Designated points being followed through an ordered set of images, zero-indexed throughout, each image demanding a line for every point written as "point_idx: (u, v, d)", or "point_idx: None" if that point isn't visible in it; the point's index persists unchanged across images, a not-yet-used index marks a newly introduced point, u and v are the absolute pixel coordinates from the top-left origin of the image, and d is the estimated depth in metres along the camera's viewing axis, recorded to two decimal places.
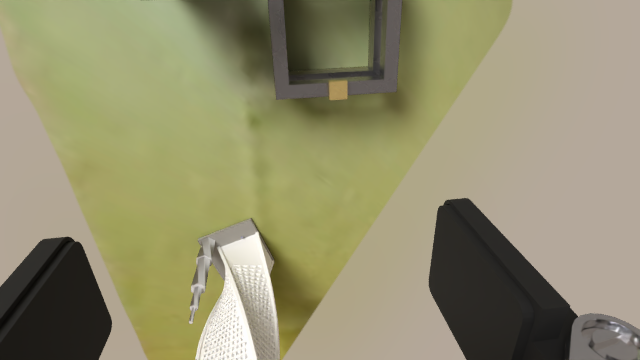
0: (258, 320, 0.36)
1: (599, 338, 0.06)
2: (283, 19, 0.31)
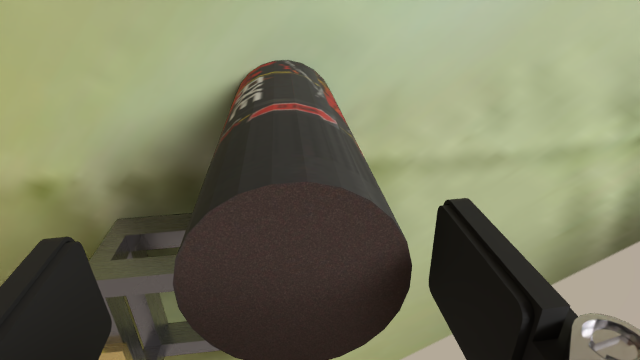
0: None
1: (599, 338, 0.06)
2: None
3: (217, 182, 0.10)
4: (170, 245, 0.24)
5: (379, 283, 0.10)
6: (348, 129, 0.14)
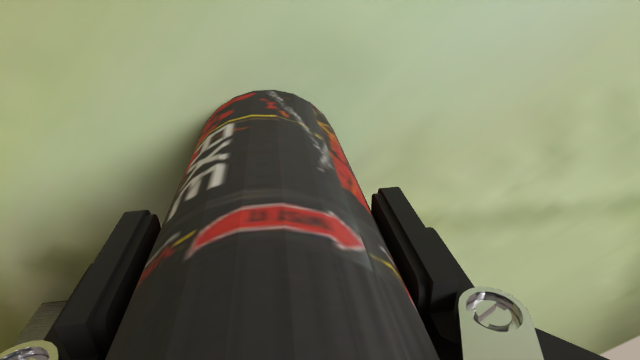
0: None
1: (481, 310, 0.07)
2: None
3: None
4: None
5: None
6: (380, 241, 0.08)
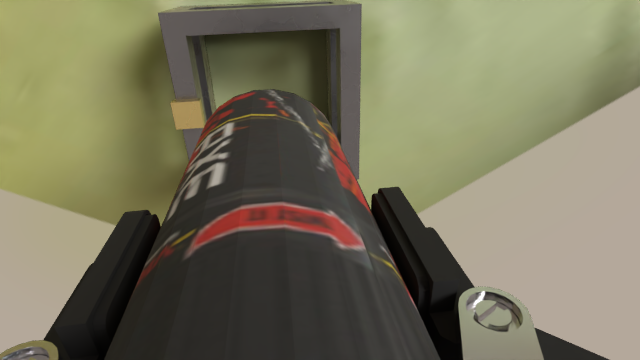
0: None
1: (480, 309, 0.07)
2: (283, 29, 0.21)
3: None
4: None
5: None
6: (380, 240, 0.08)
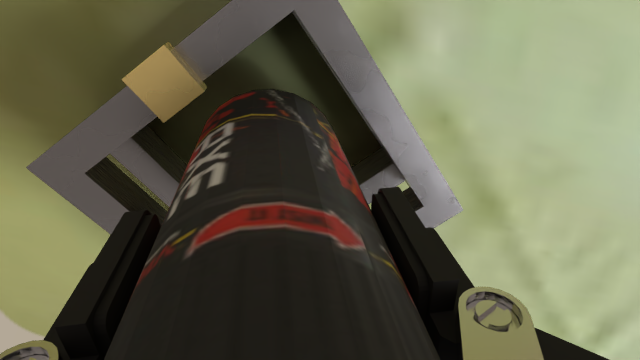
0: None
1: (481, 310, 0.07)
2: (385, 143, 0.13)
3: None
4: None
5: None
6: (380, 240, 0.08)
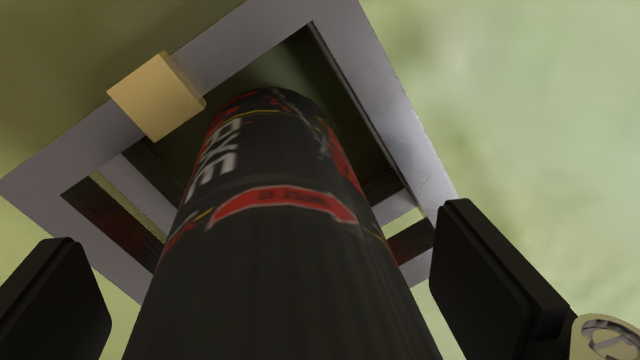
0: None
1: (599, 338, 0.06)
2: (405, 173, 0.12)
3: None
4: None
5: None
6: (372, 219, 0.09)
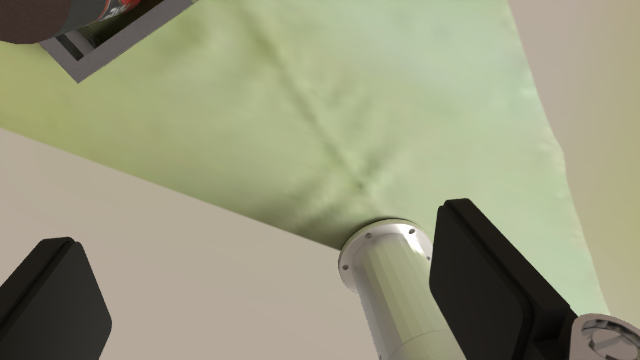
0: None
1: (599, 338, 0.06)
2: None
3: None
4: None
5: None
6: None
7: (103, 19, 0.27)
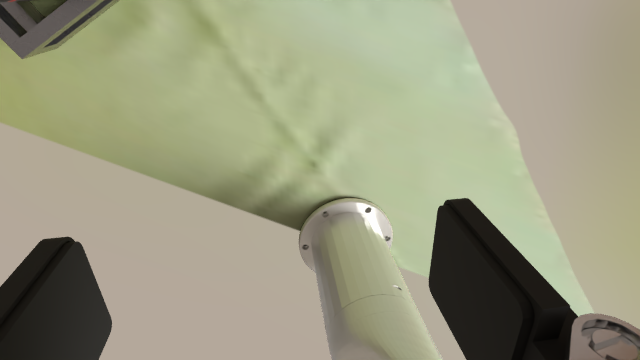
0: None
1: (599, 338, 0.06)
2: None
3: None
4: None
5: None
6: None
7: None
